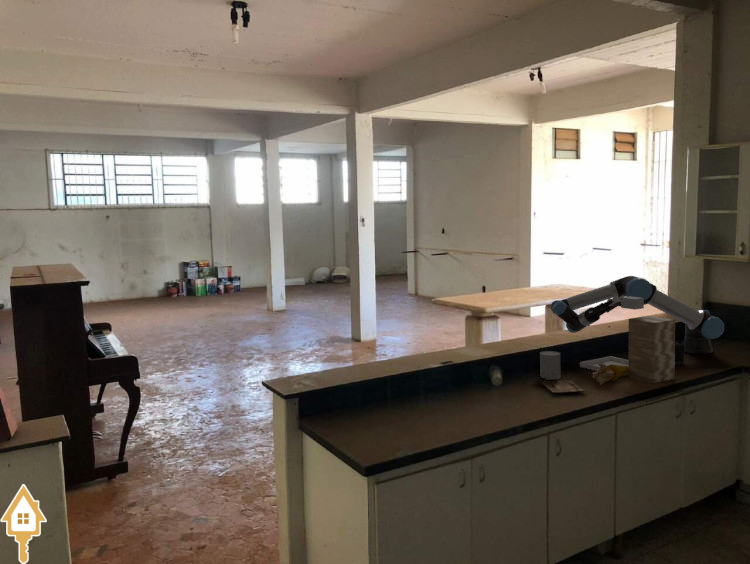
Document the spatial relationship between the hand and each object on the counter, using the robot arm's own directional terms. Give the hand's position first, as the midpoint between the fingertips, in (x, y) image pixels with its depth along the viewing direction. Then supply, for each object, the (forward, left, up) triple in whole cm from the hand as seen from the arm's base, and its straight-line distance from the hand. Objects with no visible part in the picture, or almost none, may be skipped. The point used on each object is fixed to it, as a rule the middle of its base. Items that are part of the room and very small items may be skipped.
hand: (620, 298), depth 295 cm
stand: (0, +18, -36) cm, 40 cm away
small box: (-32, +5, -36) cm, 49 cm away
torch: (+18, +12, -36) cm, 42 cm away
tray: (0, -4, -36) cm, 36 cm away
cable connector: (0, +2, -4) cm, 5 cm away
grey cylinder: (+38, -8, -36) cm, 53 cm away
